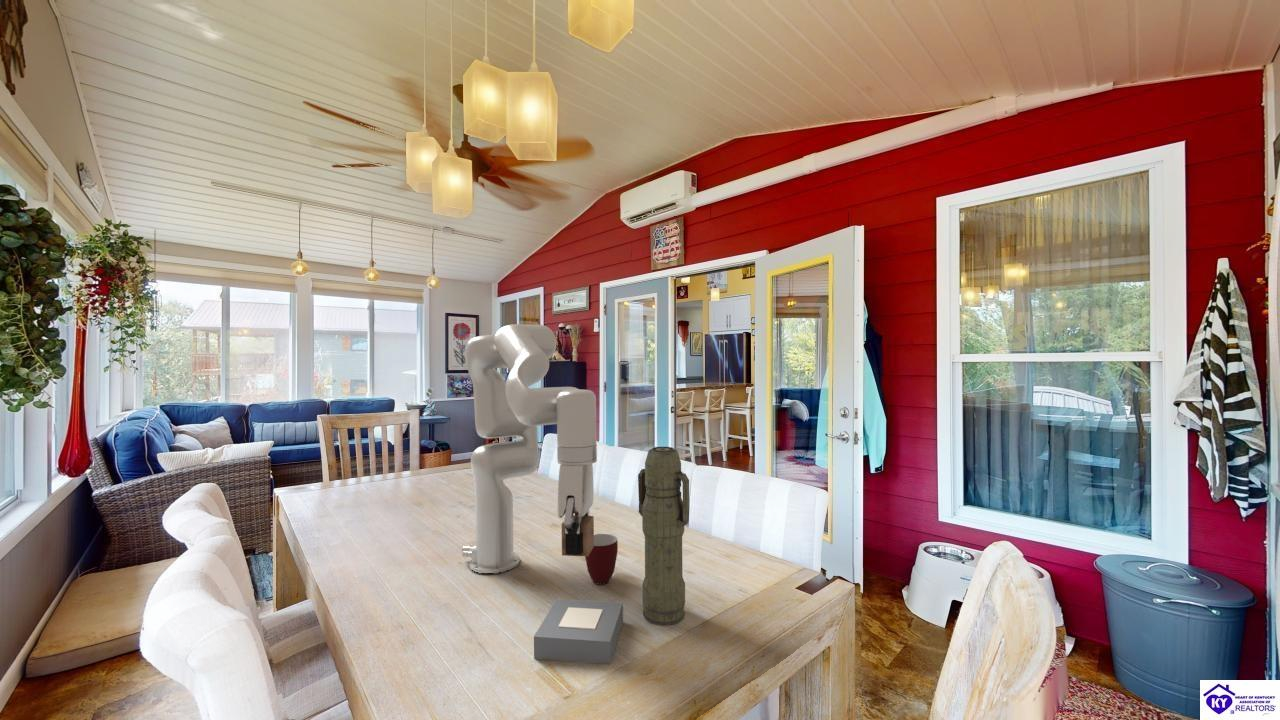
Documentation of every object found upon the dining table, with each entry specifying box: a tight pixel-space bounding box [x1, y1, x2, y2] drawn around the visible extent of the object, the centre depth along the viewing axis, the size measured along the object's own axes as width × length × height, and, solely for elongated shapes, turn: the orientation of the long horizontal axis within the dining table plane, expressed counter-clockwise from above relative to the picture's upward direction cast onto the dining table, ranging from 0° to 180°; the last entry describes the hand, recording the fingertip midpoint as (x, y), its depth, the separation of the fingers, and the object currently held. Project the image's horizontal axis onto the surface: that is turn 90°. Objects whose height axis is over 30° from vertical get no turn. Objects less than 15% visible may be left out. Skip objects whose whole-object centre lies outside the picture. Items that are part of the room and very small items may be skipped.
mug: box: [584, 533, 619, 585], centre depth 122 cm, size 10×8×10 cm
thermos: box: [637, 446, 690, 626], centre depth 105 cm, size 9×12×35 cm
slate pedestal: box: [533, 598, 624, 665], centre depth 96 cm, size 14×14×4 cm
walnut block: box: [561, 514, 595, 557], centre depth 96 cm, size 5×5×6 cm
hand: (578, 547), depth 96 cm, fingers closed on walnut block, 5 cm apart
